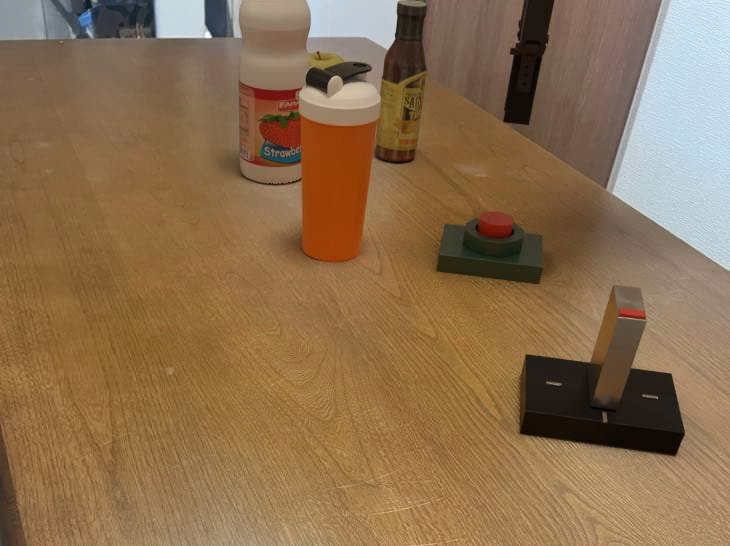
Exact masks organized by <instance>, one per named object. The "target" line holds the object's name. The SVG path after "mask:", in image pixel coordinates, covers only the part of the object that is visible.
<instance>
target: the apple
mask: <svg viewBox="0 0 730 546" xmlns="http://www.w3.org/2000/svg"><path fill="white" fill-rule="evenodd" d="M308 54H309V59H310V67H317V68H320V69H322V70H323V69H325V68H328V67H330V66H333V65H336V64H339V63H343V62H346V61H345V59H344V58H343V57H342V56H340V55H338V54H335V53H332V52H331V53H330V52H324V51H323V52H321V51H320V50H317V51H316V52H308Z"/></svg>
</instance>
